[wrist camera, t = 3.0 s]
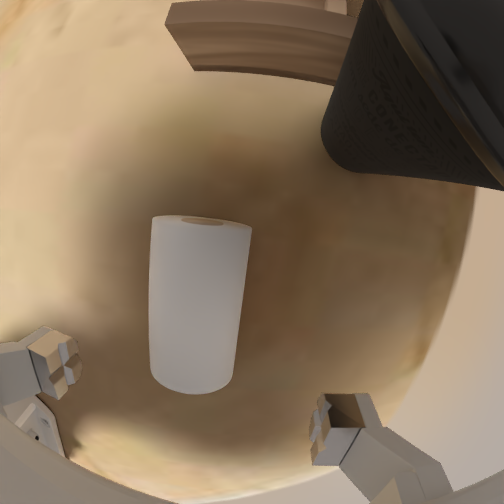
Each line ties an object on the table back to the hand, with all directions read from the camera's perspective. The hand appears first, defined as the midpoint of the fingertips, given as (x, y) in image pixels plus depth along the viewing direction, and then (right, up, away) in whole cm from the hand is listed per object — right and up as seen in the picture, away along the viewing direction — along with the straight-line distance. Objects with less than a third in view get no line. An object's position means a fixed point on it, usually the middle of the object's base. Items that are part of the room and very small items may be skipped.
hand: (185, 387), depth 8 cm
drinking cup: (+9, +11, +8) cm, 16 cm away
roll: (-1, +1, +8) cm, 8 cm away
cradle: (+4, +22, +6) cm, 23 cm away
